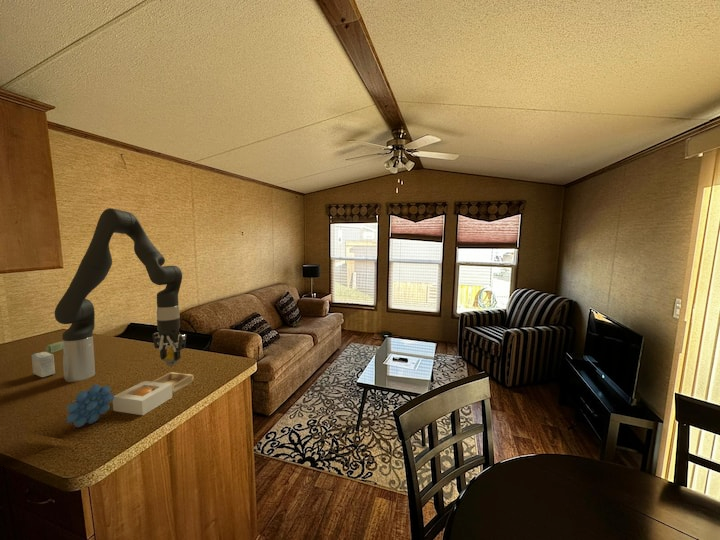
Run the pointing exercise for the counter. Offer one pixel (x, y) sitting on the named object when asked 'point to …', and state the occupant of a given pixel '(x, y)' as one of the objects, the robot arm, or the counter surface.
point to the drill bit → (170, 358)
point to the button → (143, 391)
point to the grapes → (89, 405)
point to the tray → (176, 380)
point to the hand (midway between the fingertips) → (170, 359)
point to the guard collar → (142, 398)
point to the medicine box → (43, 364)
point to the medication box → (54, 347)
